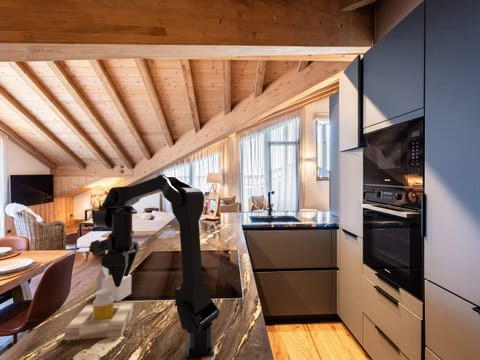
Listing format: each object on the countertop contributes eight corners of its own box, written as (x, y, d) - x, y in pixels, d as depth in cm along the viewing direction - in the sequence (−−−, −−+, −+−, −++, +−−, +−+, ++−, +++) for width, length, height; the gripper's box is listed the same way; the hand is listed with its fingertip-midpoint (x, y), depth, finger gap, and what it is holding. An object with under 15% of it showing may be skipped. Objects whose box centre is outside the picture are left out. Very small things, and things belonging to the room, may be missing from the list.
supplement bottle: (89, 324, 77) (90, 291, 77) (108, 318, 81) (109, 286, 81) (96, 331, 73) (97, 296, 74) (116, 324, 77) (116, 291, 78)
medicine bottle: (131, 293, 99) (131, 261, 100) (118, 301, 92) (119, 267, 93) (115, 292, 101) (115, 260, 101) (101, 299, 94) (101, 265, 94)
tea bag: (115, 288, 105) (116, 262, 105) (106, 295, 98) (106, 267, 98) (106, 287, 105) (106, 262, 105) (96, 294, 98) (96, 267, 99)
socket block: (121, 335, 71) (121, 324, 71) (64, 340, 69) (64, 328, 69) (134, 311, 85) (134, 302, 85) (87, 314, 83) (87, 304, 83)
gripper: (104, 225, 88) (103, 273, 88) (79, 235, 70) (79, 295, 69) (139, 224, 90) (139, 271, 89) (124, 233, 72) (124, 292, 71)
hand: (122, 281), depth 80 cm, fingers open, 9 cm apart
